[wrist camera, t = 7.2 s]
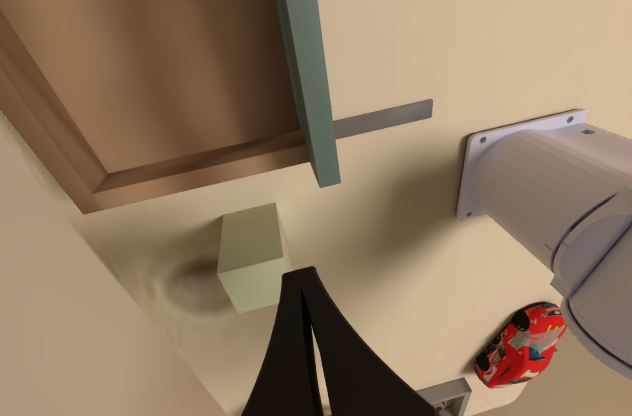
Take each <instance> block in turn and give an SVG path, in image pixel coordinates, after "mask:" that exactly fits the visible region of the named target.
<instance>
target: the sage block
mask: <svg viewBox="0 0 632 416" xmlns="http://www.w3.org/2000/svg"><path fill="white" fill-rule="evenodd" d="M291 271H292V267H291V261H290V255H289V249H288V243H287V238H286V235H285V232H284V228H283V225H282V222H281V218H280V215H279V212H278V208H277V205H276V202H275V203H271V204H267V205H263V206H259V207H255V208H250V209H246V210H242V211H238V212H234V213H230V214H226V215H223V224H222V233H221V241H220V250H219V259H218V268H217V276H218V277H219V279H220V281H221V283H222V285H223V287H224V289H225V291H226V292H227V294H228V296H229V298H230V300H231V302H232V304H233V305H234V307H235V309H236V311H237V313H238V314H241V313H244V312H248V311H252V310H256V309H260V308H263V307H267V306H271V305H275V304H279V299H280V292H281V282H282V275H283V274H284V273H287V272H291Z"/></svg>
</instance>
